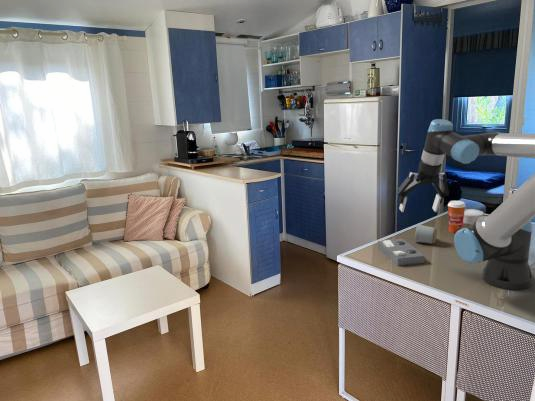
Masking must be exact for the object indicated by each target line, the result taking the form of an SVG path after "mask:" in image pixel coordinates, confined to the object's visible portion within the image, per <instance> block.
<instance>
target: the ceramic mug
mask: <svg viewBox="0 0 535 401" xmlns="http://www.w3.org/2000/svg"><path fill="white" fill-rule="evenodd" d="M437 233H438V230H437V228H435V227H434V226H433V227H432V226H426V225H423V224H418V225H417V226H416V228H415V233H414V240H415V242H416V243H422V244H423V243H424V244H432V245H433V244H435V243H436V240H437Z"/></svg>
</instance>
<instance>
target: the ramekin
mask: <svg viewBox="0 0 535 401" xmlns="http://www.w3.org/2000/svg"><path fill="white" fill-rule="evenodd" d="M484 214H485V213H484V211H481V210H478V209H473V208H472V209H471V208H470V209H468V208H467V209H466V208H465V211H464V219H463V225H468V226H471V225H472V224H473V223H474V222H475V221H476V220H478V219H479V218H480V217H482V216H485V215H484Z"/></svg>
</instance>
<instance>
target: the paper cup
mask: <svg viewBox="0 0 535 401" xmlns="http://www.w3.org/2000/svg"><path fill="white" fill-rule="evenodd" d="M466 206H467V205H466V203H465V202H464V201H461V200H450V201H449V202H448V204H447V207H448V208H447V210H448V211H447V214H448V220H447V221H448V232H449V233H452V234H456V232H457V231H459V230H461V229H462V228H463V225H464V223H463V219H464V211H465V209H466Z"/></svg>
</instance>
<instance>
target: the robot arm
mask: <svg viewBox="0 0 535 401" xmlns="http://www.w3.org/2000/svg"><path fill="white" fill-rule="evenodd" d="M453 130H454V124H453V123H452V122H451V121H450V120H447V119H441V118H440V119H439V118H436V119H433V120H432V121H431V122H430V124H429V127H428V130H427V134H426V138H425V143H424V146H423V150H422V154H421V158H420V162H419V166H418V171H417V172H413V171H409V173H408V175H407V177H406V178H405V179H404V181H403V182H402V184H400V185H399V187H398V188H397V189H396V191H395V193H396V194H397V195H398V196H399V200H398V202H399V211H401V213H404V210H405V207H406V203H407V200H408V197H407V196H408V195H409V194H410V193H411V192H413V191H414V190H415V189H416V188H418V187H420V186H421V185H422V186H424V185H426V186H427V185H428V186H430V185H433V187H434V189H435V190H436V191H437V193H436V195H435V198H434V201H433V205H432V210H433V211H434V213H438V209H439V206H440V204H442V203H443V200H444V199H445V198H446V197H448V196H450V192H449V187H448V186H449V185H448V182H447V176H448V175H447V174H446V173H445V172H444V171H441V169H442V166H443V165H442V164H443V161H444V159H445V155H447V156H448V157H450V158H452V159H453V160H454V161H457V162H459V163H461V164H466V165H467V164H471V162H473V161H475V160H476V159H477V157H481V156H497V157H498V156H499V157H500V156H501V157H513V158H525V159H535V133H515V132H514V133H509V132H508V133H506V132H505V133H504V132H503V133H502V132H499V131H490V132H486V133H478V134H477V133H476V134H468V135H460V134H459V133H456V132H454V131H453ZM438 179H440V183H441V188H442V189H441V188H440V185H439V184H438V182H437V180H438ZM534 218H535V172H534V173H533V174H531V176H530V177H529V178H527V180H526V181H525V182H523V183H522V184H521V185H520V186H519V187H518V188H517V189H516V190H515V191H514V192H512V193H511V195H509V197H507V198H506V199H505V200H504V201H503V202H502V203H501V204H500V205H499V206H498V207H496V209H494V210H493V211H492V212H491V213H490V214H489V215H483V216H482V217H480V218H479V219H478V220H476V221H475V222H474V223H473V224H472V225H469V226H468V227H464V228H463V227H462V229H461V230H459V231H457V232H456V233H454V239H453V241H454V248H455V250H456V253H457V254H458V256H459V257H460V258H461V260H463V261H464V262H467V263H469V264H481V263H482V262H486V264H485V266H484V268H483V269H482V279H483V280H484V281H485V282H486V283H488V284H489V285H492V286H494V287H497V288H500V289H506V290H512V291H513V290H525V289H528V288H531V287H532V286H533V278H534V277H533V275H532V271H531V267H530V264H529V260H530V249H531V240H532V233H533V229H532V226H533V224H532V222H531V220H533V219H534Z"/></svg>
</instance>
